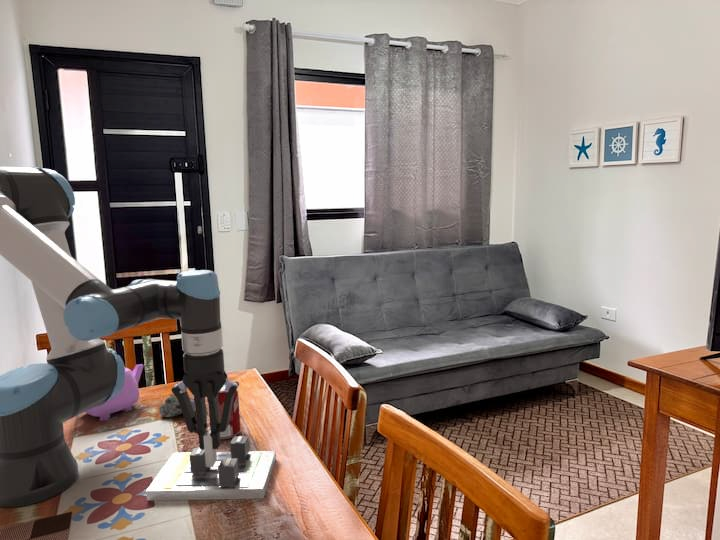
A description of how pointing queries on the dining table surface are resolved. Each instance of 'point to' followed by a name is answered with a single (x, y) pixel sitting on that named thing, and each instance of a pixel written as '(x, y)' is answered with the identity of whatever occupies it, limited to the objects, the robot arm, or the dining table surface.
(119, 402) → the teapot
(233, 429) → the soda can
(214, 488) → the panel
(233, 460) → the breaker near
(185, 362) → the robot arm
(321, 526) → the dining table surface
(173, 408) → the grey rock
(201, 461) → the breaker
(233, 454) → the breaker far
